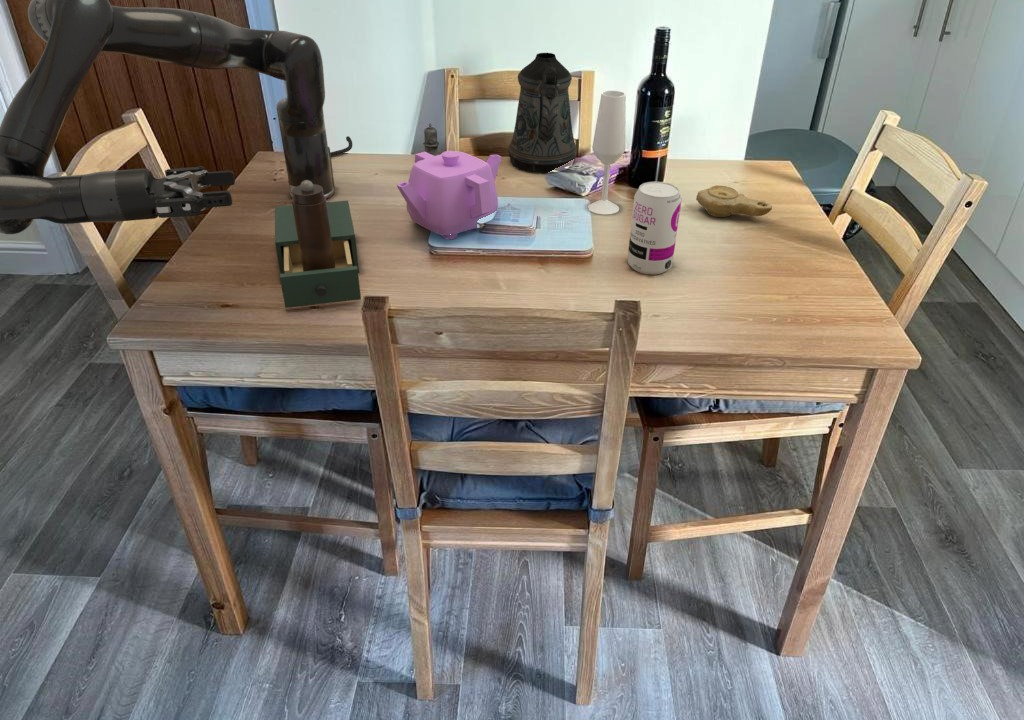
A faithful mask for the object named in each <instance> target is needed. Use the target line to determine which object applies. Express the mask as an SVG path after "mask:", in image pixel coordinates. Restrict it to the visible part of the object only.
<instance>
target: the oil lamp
mask: <svg viewBox="0 0 1024 720" xmlns="http://www.w3.org/2000/svg"><path fill="white" fill-rule="evenodd" d="M695 198H696V199H695V200H696V201H697V203H698V204H699V205H700V207H702V208H704V209H705V210H706V213H707V214H708V215H710V216H713V217H717V218H724V217H729V216H731V215H743V216H748V217H762V216H765V215H768V214H769V213H770V212H771V211H772V209H773V206H772V205H771V204H770V203H769V202H766V201H765V200H762V199H752V198H751V197H750V198H749V197H748V196H745V193H739V192H738V191H737V189H735V188H733V187H730V186H727V185H720V184H719V185H712V186H711V187H708V188H706V189H705V188H704V189H701V190H699V191H697V195H696V197H695Z"/></svg>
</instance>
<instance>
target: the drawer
mask: <svg viewBox="0 0 1024 720" xmlns="http://www.w3.org/2000/svg"><path fill="white" fill-rule="evenodd" d="M332 246H333V254H334V261H335V268H332V269H322V270H312V271H303V267H302V261H301V255H300V249H299V244H296V245H285V246H284V272H285V273H284V274H281V273H280V274H279V281H280V286H281V293H282V297H283V303H284V308H285V309H287V308H289V309H290V308H296V307H306V306H307V307H308V306H313V305H323V304H324V305H325V304H331V303H340V302H350V301H358V300H359V301H360V300H362V296H361V286H360V278H359V273H358V269H357V266H352V260H351V254H350V249H349V243H348V239H347V240H337V241H332Z"/></svg>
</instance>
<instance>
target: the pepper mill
mask: <svg viewBox="0 0 1024 720" xmlns="http://www.w3.org/2000/svg"><path fill="white" fill-rule="evenodd" d="M292 194H293V198H291V205H292V206H293V212H294V218H295V224H296V231H297V237H298V243H299V249H300V255H301V261H302V267H303V271H312V270H322V269H332V268H335V261H334V254H333V246H332V239H331V232H330V224H329V217H328V210H327V202H328V201H327V199H326V197H325V196H324V194H323V188H322V187H321V186H320V185H316V184H312V182H311V181H309V180H304V181H303V182H302V183H301V185H299V186H297V187H295V188H293V190H292Z"/></svg>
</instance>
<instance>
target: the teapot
mask: <svg viewBox="0 0 1024 720" xmlns="http://www.w3.org/2000/svg"><path fill="white" fill-rule="evenodd" d="M501 161H502V156H501V155H499V154H489V157H488V159H487V160H486V161H484V160H483V159H481V158H479V157H476V156H474V155H471V154H469V153H466V152H463V151H456V150H446V151H442V152H441V154H439V155H437V156H434V155H431V154H429V153H427V152H425V151H421V152H418V153H415V154H414V163H413V164H412V167H411V170H410V173H409V178H408V181H405V180H403V181H402V182H400V183H398V184H396V187H397V189H398V191H399V193H400V194H401V196H402V197H403V199H404V202H405V204H406V211H407V213H408V215H409V217H410V218H411V220H412V221H413V222H414V223H416V224H417V225H419V226H420V227H422V228H425V230H428V231H430V232H432V231H433V232H432V233H434V232H435V233H434V234H436V233H437V235H439V234H440V236H441V237H442V238H443V239H445V240H454V239H457V237H458V234H459V233H463V232H467V231H470V230H473V229H474V230H479V229H478V228H477V221H478V220H479V219H481V218H483V217H486V216H488V215H490V214H492V213H494V212H495V211H498V209H499V198H498V197H499V196H498V191H497V185H496V178H497V176H498V171H499V168H500V165H501ZM450 234H451V235H450Z"/></svg>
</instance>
